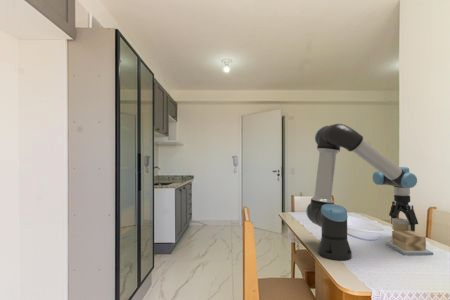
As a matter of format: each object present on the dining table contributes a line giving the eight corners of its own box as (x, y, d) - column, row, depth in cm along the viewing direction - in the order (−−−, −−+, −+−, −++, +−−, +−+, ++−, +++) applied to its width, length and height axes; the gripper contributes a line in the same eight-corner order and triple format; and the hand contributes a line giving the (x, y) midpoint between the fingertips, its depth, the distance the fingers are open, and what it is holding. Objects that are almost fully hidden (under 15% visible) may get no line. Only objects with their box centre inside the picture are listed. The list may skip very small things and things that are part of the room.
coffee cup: (416, 245, 142) (416, 222, 143) (397, 243, 144) (396, 221, 144) (408, 239, 151) (407, 218, 152) (390, 238, 153) (389, 217, 154)
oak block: (405, 251, 130) (405, 236, 130) (392, 244, 140) (392, 230, 140) (425, 250, 130) (425, 236, 130) (410, 244, 140) (410, 230, 140)
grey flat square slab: (404, 255, 128) (404, 252, 128) (386, 245, 142) (386, 243, 142) (433, 255, 128) (433, 252, 128) (412, 245, 142) (412, 242, 142)
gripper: (425, 198, 136) (427, 239, 136) (394, 191, 161) (395, 226, 160) (411, 198, 136) (412, 240, 135) (381, 191, 161) (382, 226, 160)
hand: (403, 232), depth 148 cm, fingers open, 13 cm apart
